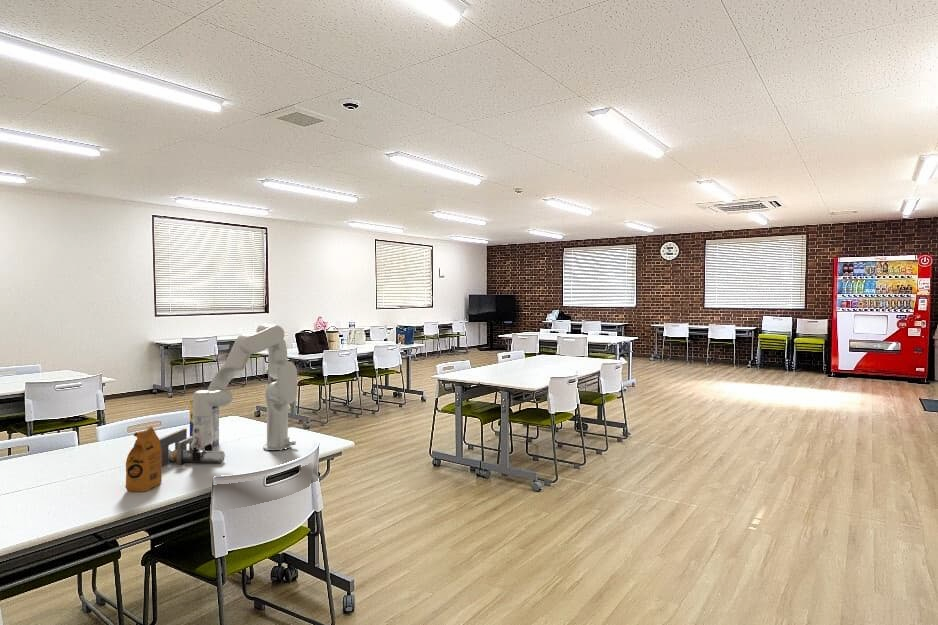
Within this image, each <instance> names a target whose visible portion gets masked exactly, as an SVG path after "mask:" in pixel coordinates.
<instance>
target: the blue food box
mask: <svg viewBox="0 0 938 625" xmlns="http://www.w3.org/2000/svg"><path fill="white" fill-rule="evenodd" d="M212 423H213V431H214V441H213V442H212V443H213V445H212V448H214V447H216V446H218V445H219V444H220V407H219V406H213V407H212ZM193 425H194V424H193V399H192V400H190V401H189V437H191V436H192V433H193Z"/></svg>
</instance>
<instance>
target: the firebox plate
mask: <svg viewBox="0 0 938 625" xmlns="http://www.w3.org/2000/svg"><path fill="white" fill-rule="evenodd" d="M187 432H188V431H187V427H186V428H181V429H179V430H176V431H173V432H171V433H169V434H167V435H164V436H162V437H160V438H159V437H158V438H159V440H160V444H161V452H162V468H163V467H165V466H167V465H169V462H170V461H169V446H171V445H173V444H174V450H177V443H178V442H180V441H182V440H184V439H186V438H188V436H187V434H188V433H187ZM187 445H188V444H186V445H184V446H183V450H188V446H187Z"/></svg>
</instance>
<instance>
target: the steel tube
mask: <svg viewBox="0 0 938 625" xmlns="http://www.w3.org/2000/svg"><path fill="white" fill-rule="evenodd" d="M199 452H200V462H199V463H202V464H203V463H208V464H222V463H223V462H224V461H225V458H226V456H225V455H226V454H225V451H223V450H212V451H205V450H200V451H199ZM169 462H176V463H177V450H175V449H169ZM183 463H194V462H193V461H192V450H189V449H187V450H183Z"/></svg>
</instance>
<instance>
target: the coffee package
mask: <svg viewBox="0 0 938 625" xmlns="http://www.w3.org/2000/svg"><path fill="white" fill-rule="evenodd" d="M133 437H136V440H135V443H134V444H133V447H131V449H130V451H128V452H129V453H128V454H127V457H126V459H125V489H126V491H127V492H129V491H130V492H134V491H135V492H136V491H138V492H140V493H145V492H144V491H147V492H149V491H150V490H151V489H152V488H157V487H158V486H159V485H160V484H161V483H162V479H163V478H162V477H163V476H162V471H163V469H162V468H163V467H162V452H161V444H160V440H159V436H158V435H157V433H156V432H155V429H154V428H153V426H147V429H146V430H143V431H137V432H134V434H133ZM156 486H157V487H156ZM148 490H149V491H148ZM135 492H134V493H135ZM136 493H137V492H136Z"/></svg>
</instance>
